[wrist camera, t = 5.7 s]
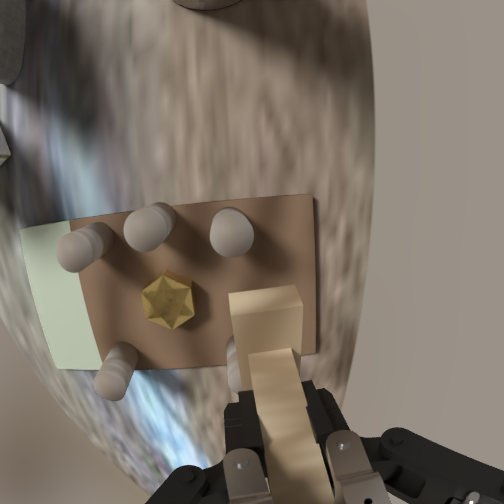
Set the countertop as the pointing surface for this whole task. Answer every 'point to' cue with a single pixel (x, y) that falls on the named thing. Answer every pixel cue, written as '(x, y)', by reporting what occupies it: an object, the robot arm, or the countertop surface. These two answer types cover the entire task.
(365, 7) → the countertop surface
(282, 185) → the countertop surface
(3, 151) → the syrup box
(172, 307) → the gold star hexagon
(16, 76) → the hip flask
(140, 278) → the board
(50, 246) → the green pad
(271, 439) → the light wood t-shaped block
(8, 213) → the countertop surface
